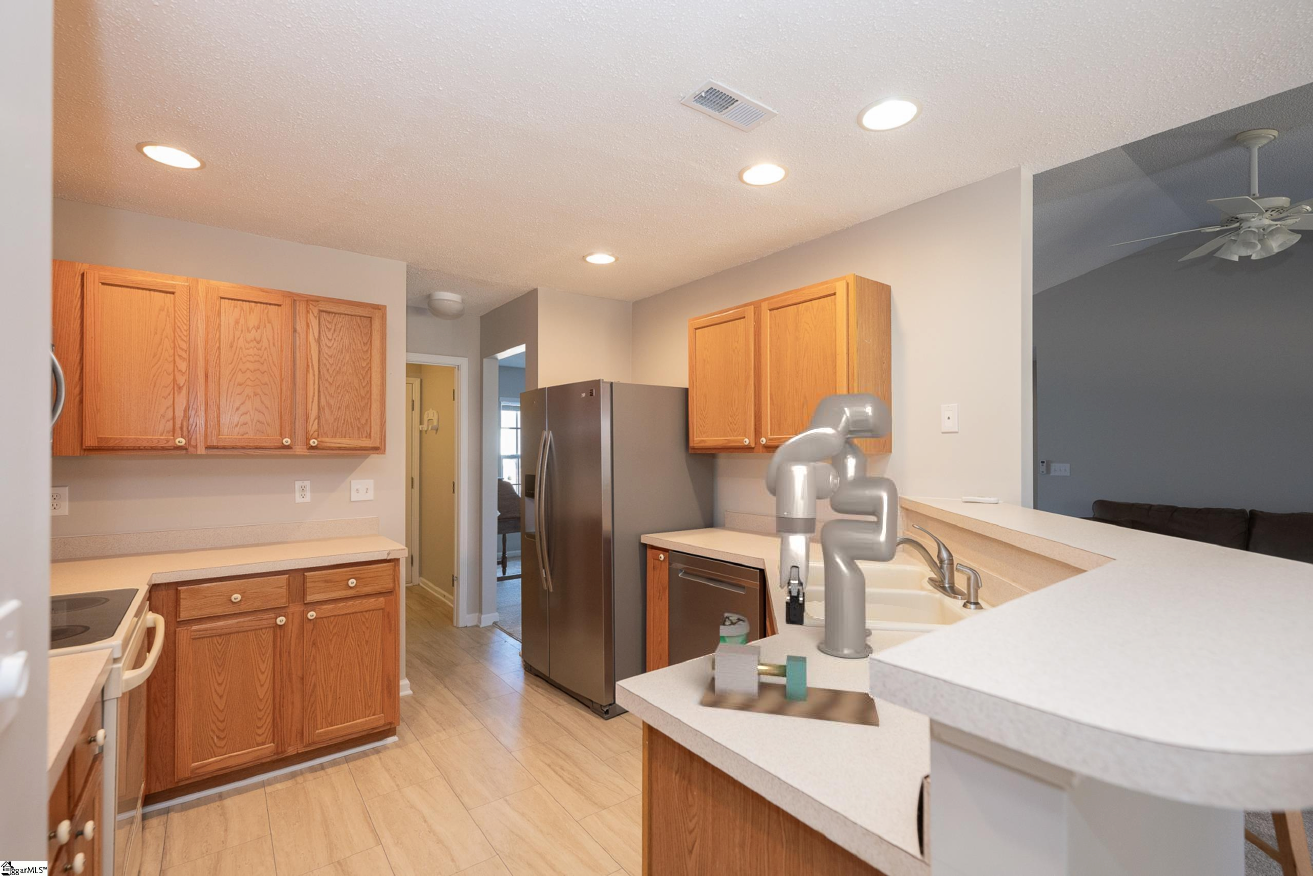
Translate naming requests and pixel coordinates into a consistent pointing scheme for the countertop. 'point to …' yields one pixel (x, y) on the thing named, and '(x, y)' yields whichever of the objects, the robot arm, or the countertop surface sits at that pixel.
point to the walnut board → (801, 703)
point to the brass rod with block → (787, 675)
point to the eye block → (737, 670)
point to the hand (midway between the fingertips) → (795, 618)
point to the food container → (734, 629)
